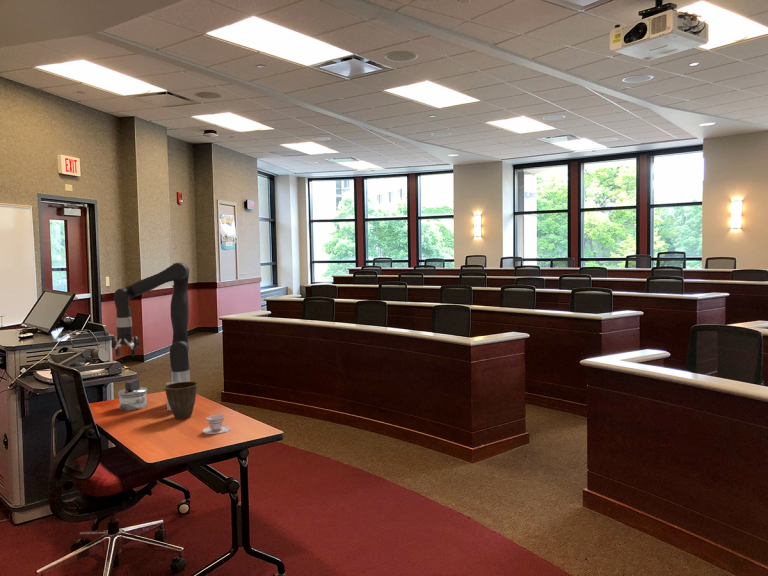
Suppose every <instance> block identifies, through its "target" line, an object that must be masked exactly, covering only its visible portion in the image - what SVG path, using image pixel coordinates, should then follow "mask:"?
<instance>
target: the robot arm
mask: <svg viewBox="0 0 768 576" xmlns="http://www.w3.org/2000/svg"><path fill="white" fill-rule="evenodd" d="M189 277H190V267H189V266H188V264H187V263H185V262H175V263H173V264H171V265H170V266H168V267H166V269H164V270H162V271H160V272H158V273H156V274H153V275H150V276H148V277H146V278H143V279H139V280H138V281H135V282H133V283H132V284H130V285H127V286H125V287H121V288H118V289H116V290H115V291H114V294H113V299H114V305H115V309H116V323H115V324H116V335H117V336H111V345H110V346H111V348H112V349H114V351H115V356H116V357H120V356H121V349H120V348H121V347H122V346H123V345H124V346H128V347H130V349H131V351H130V353H131V355H130V356H131V357H135V356H136V354H137V353H136V349H137V348H140V343H139V341H140V340H139V336H133V319H132V308H131V307H130V306H129V300H132V299H134V298H136V297H138V296H141V295H143V294H146V293H148V292H150V291H152V290H154V289H156V288H158V287H160V286H162V285H164V284H167V283H171V282H173V291H172V294H171V295H172V296H171V300H170V320H171V321H170V322H171V326H172V341H171V345H170V348H169V362H170V369H171V370H170V371H171V372H170V373H171V382H174V383H179V382H191V375H190V364H189V363H190V361H189V349H190V347H189V340H188V325H189V315H190V314H189V312H190V311H189V310H190V309H189V306H190V305H189V290H188V289H189V288H188V287H189Z"/></svg>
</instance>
